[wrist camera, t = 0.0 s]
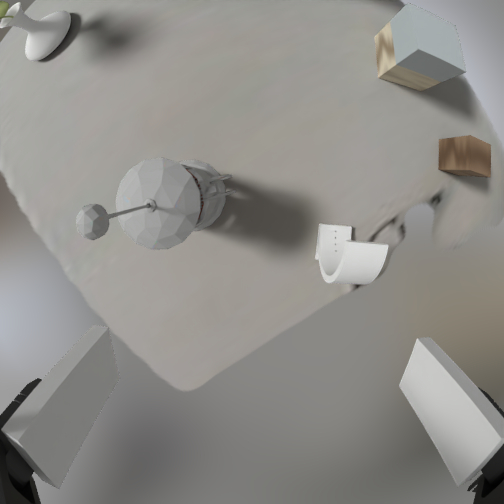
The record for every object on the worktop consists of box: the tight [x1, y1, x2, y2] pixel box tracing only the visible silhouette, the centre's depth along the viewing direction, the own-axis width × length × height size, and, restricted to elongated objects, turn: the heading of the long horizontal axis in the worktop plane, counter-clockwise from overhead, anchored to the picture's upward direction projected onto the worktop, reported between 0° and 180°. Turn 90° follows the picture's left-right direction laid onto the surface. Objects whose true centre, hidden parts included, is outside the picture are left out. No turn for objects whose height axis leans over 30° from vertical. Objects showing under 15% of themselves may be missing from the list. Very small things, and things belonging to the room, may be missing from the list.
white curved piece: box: [315, 223, 388, 284], centre depth 32 cm, size 5×6×12 cm
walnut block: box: [439, 135, 491, 177], centre depth 30 cm, size 5×5×8 cm
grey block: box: [390, 3, 466, 82], centre depth 22 cm, size 8×8×6 cm
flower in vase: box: [0, 1, 71, 61], centre depth 16 cm, size 13×11×25 cm
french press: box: [76, 158, 236, 249], centre depth 24 cm, size 10×12×25 cm
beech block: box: [375, 21, 441, 91], centre depth 28 cm, size 8×8×6 cm
